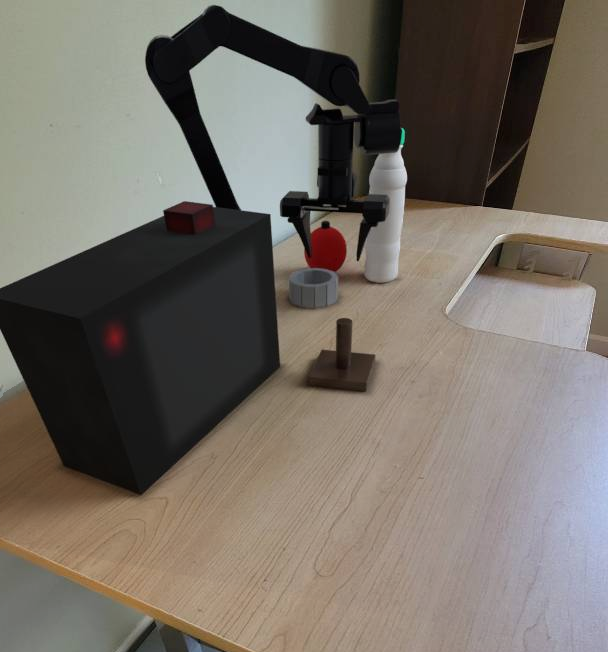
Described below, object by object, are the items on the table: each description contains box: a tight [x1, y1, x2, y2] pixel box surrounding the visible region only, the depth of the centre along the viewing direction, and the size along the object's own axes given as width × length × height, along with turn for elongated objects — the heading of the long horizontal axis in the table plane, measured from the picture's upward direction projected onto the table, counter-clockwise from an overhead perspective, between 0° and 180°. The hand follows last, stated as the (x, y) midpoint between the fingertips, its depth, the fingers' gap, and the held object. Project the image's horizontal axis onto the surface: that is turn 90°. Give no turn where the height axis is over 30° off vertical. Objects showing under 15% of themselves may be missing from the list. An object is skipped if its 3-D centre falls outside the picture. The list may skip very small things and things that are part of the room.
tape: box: [288, 267, 339, 309], centre depth 101 cm, size 9×9×4 cm
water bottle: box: [363, 127, 408, 284], centre depth 100 cm, size 7×7×25 cm
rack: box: [308, 317, 377, 392], centre depth 79 cm, size 9×9×8 cm
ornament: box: [303, 220, 348, 273], centre depth 108 cm, size 9×9×10 cm
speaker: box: [0, 200, 281, 496], centre depth 68 cm, size 15×35×24 cm, turn 152°
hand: (333, 259), depth 97 cm, fingers open, 9 cm apart
